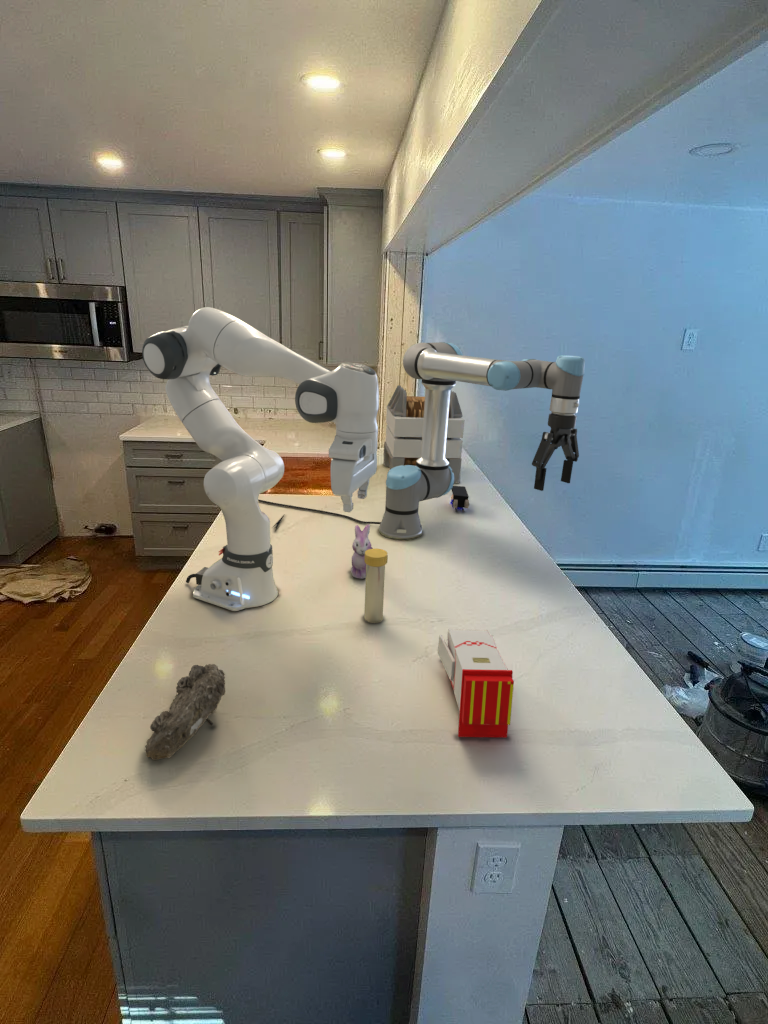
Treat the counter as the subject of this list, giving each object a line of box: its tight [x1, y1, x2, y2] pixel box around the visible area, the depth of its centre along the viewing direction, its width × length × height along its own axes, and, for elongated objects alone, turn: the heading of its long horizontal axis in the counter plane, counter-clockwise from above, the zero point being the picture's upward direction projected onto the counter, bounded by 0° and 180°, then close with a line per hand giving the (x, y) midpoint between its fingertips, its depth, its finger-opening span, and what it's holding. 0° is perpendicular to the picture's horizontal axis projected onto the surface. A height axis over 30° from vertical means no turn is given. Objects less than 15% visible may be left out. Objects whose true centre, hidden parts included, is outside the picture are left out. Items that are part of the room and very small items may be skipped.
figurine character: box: [450, 485, 470, 513], centre depth 227 cm, size 7×8×15 cm
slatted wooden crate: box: [383, 384, 465, 484], centre depth 268 cm, size 34×33×41 cm
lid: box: [364, 547, 389, 567], centre depth 139 cm, size 6×6×2 cm
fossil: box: [144, 663, 226, 761], centre depth 105 cm, size 22×10×15 cm
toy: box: [437, 628, 515, 738], centre depth 117 cm, size 12×13×30 cm
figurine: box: [350, 524, 374, 580], centre depth 167 cm, size 9×10×15 cm
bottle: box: [363, 564, 386, 624], centre depth 142 cm, size 5×5×18 cm
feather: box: [270, 514, 286, 532], centre depth 209 cm, size 2×28×2 cm
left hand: (355, 504), depth 125 cm, fingers open, 8 cm apart
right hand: (552, 485), depth 166 cm, fingers open, 13 cm apart
